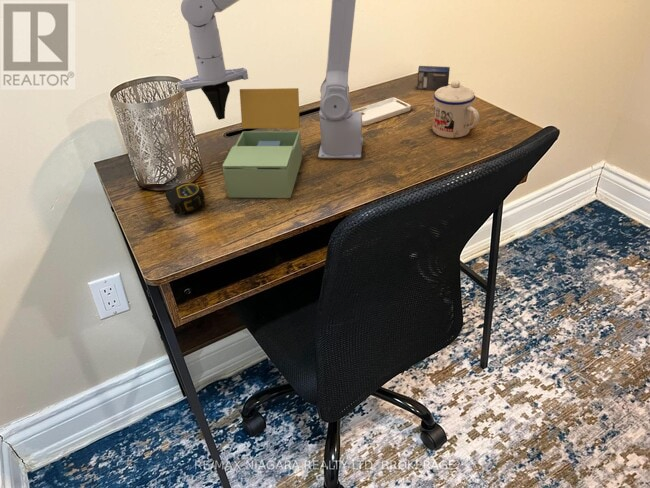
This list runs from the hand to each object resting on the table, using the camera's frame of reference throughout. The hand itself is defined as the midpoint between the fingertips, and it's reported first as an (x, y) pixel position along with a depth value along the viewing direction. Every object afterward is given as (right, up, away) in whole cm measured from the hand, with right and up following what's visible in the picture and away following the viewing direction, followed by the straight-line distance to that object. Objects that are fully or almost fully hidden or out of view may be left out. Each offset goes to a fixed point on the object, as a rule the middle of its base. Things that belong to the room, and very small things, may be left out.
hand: (220, 117), depth 113 cm
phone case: (+37, +6, +19) cm, 42 cm away
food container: (-11, -13, 0) cm, 17 cm away
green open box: (+11, -13, -3) cm, 17 cm away
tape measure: (-5, -21, -11) cm, 24 cm away
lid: (+11, +1, -2) cm, 11 cm away
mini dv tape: (+53, +15, +30) cm, 62 cm away
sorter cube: (+11, -11, 0) cm, 15 cm away
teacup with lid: (+53, -2, +9) cm, 54 cm away
